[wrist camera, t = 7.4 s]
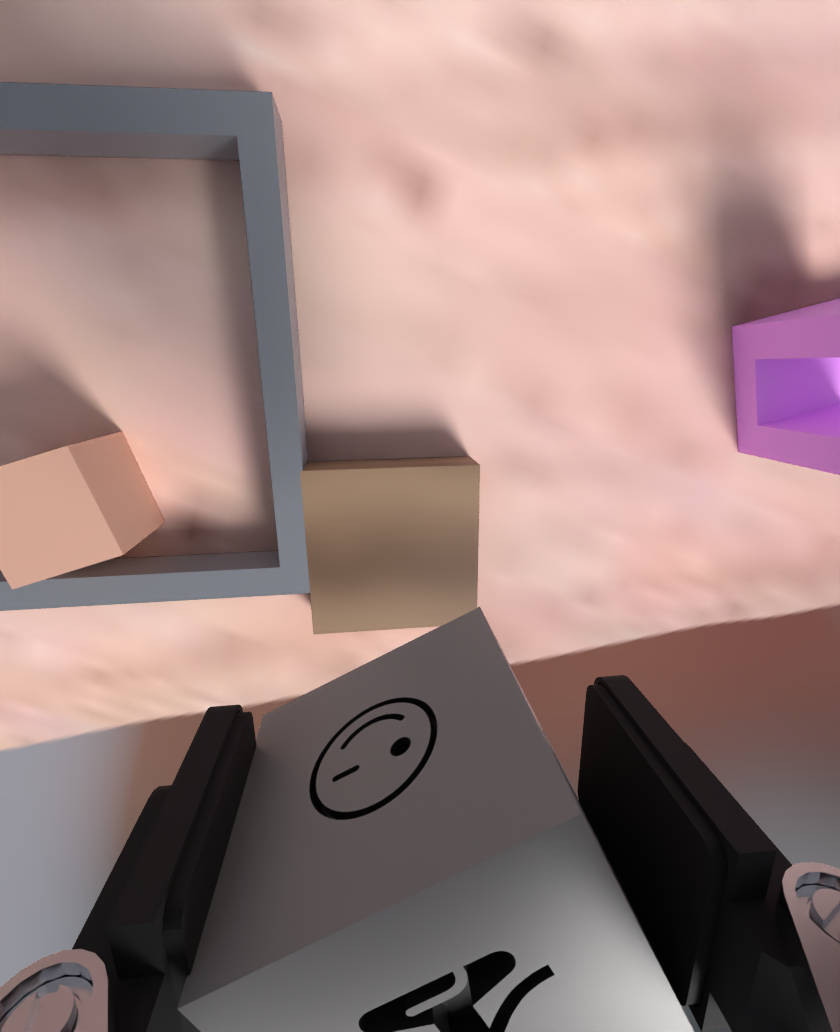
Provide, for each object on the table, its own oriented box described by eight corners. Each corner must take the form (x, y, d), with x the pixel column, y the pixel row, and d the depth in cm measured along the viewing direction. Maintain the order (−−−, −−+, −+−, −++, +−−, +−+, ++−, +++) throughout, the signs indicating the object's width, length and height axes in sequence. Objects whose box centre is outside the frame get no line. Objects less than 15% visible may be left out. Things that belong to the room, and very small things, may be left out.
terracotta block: (26, 460, 20) (-53, 482, 16) (123, 431, 20) (66, 445, 16) (75, 549, 21) (12, 589, 17) (166, 521, 21) (123, 554, 18)
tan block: (305, 462, 21) (300, 471, 19) (469, 456, 22) (479, 464, 20) (317, 612, 23) (313, 634, 21) (467, 603, 24) (476, 623, 22)
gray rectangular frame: (-199, 106, 16) (-274, 71, 14) (281, 122, 18) (271, 91, 16) (-50, 593, 21) (-92, 616, 19) (317, 573, 23) (312, 593, 21)
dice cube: (480, 606, 10) (581, 813, 5) (567, 777, 12) (707, 1058, 7) (263, 715, 10) (177, 1008, 6) (376, 870, 12) (385, 1208, 7)
